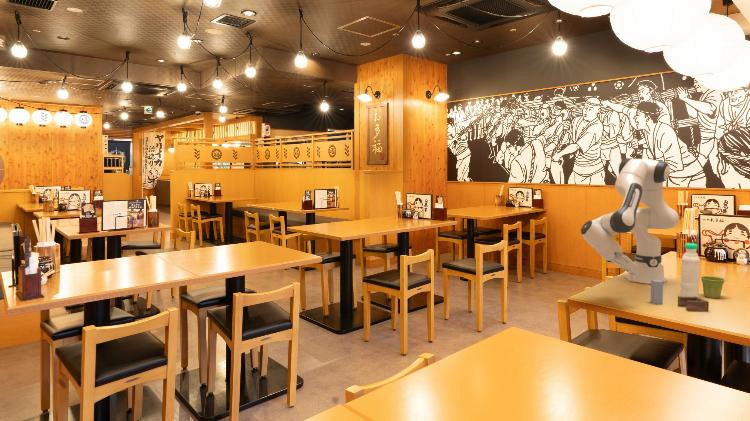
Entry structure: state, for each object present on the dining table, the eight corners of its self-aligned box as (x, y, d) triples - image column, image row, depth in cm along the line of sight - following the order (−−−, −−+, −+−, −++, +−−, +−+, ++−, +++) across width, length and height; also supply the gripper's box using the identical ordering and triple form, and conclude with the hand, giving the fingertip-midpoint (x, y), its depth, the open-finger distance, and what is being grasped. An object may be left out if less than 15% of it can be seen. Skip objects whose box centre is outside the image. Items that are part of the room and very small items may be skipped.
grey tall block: (650, 301, 214) (651, 279, 213) (658, 301, 213) (659, 279, 212) (654, 303, 210) (654, 281, 209) (662, 304, 210) (663, 281, 209)
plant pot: (720, 294, 224) (721, 276, 223) (727, 300, 215) (728, 281, 214) (697, 293, 227) (697, 275, 226) (703, 298, 218) (704, 279, 217)
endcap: (677, 305, 207) (678, 296, 207) (697, 305, 206) (697, 296, 206) (688, 311, 199) (688, 301, 199) (708, 311, 198) (708, 301, 198)
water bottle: (701, 299, 216) (703, 245, 214) (684, 299, 217) (686, 244, 215) (694, 295, 223) (696, 242, 220) (677, 295, 224) (679, 242, 222)
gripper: (626, 250, 201) (650, 273, 201) (607, 242, 221) (629, 263, 221) (615, 260, 202) (638, 283, 202) (597, 252, 222) (619, 273, 222)
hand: (633, 273), depth 212 cm, fingers open, 8 cm apart
